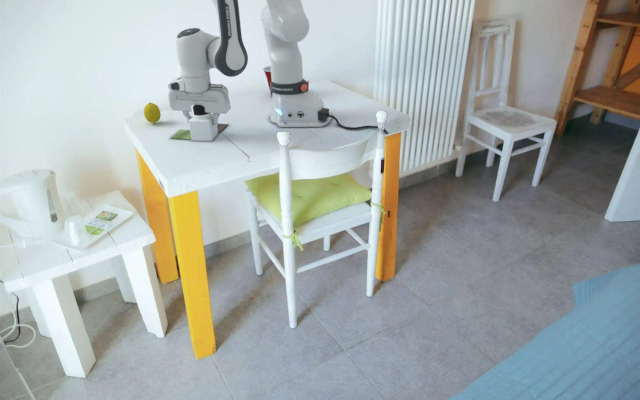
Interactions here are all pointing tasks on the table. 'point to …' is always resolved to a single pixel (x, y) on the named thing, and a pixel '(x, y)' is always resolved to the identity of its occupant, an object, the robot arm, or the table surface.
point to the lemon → (152, 113)
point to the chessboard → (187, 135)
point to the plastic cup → (268, 75)
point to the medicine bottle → (202, 124)
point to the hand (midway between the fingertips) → (202, 123)
